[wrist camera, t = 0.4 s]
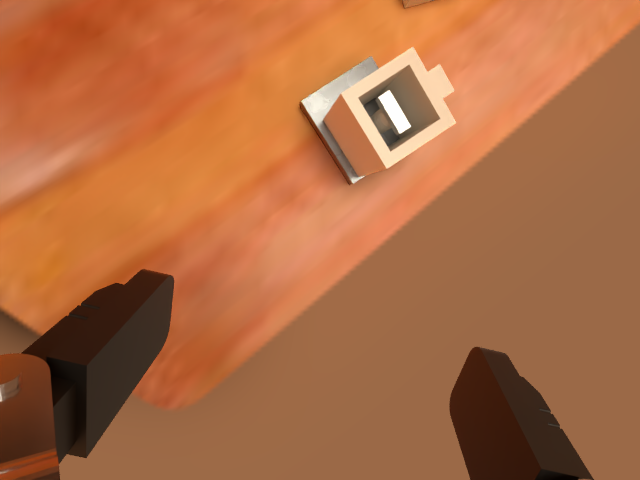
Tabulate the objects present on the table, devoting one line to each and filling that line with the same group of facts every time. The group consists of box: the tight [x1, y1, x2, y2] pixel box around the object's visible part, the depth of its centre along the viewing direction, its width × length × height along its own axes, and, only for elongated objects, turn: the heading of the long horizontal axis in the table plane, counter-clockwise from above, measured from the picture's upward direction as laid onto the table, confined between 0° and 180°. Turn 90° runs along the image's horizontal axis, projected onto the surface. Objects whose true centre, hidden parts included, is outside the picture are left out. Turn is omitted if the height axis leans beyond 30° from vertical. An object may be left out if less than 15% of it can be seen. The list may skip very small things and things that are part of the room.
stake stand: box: [300, 56, 411, 185], centre depth 31 cm, size 8×7×8 cm
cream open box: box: [323, 47, 456, 177], centre depth 30 cm, size 6×7×8 cm
